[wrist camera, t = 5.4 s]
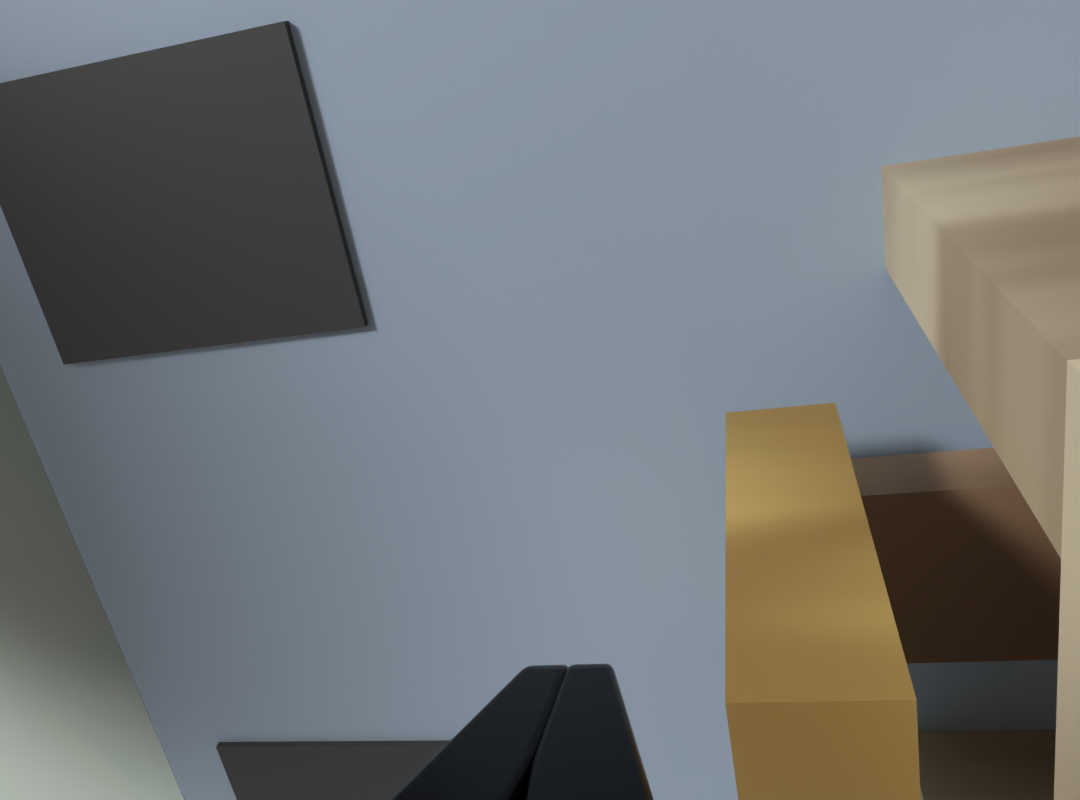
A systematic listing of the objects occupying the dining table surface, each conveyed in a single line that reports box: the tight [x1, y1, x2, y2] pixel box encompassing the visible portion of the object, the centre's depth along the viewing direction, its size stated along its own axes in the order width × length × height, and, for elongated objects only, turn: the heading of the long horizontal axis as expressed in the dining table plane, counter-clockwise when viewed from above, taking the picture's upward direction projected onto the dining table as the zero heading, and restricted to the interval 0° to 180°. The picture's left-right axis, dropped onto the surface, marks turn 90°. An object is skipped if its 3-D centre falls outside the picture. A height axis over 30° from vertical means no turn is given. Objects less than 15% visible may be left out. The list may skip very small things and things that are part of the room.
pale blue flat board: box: [0, 0, 1080, 800], centre depth 11 cm, size 20×14×1 cm
